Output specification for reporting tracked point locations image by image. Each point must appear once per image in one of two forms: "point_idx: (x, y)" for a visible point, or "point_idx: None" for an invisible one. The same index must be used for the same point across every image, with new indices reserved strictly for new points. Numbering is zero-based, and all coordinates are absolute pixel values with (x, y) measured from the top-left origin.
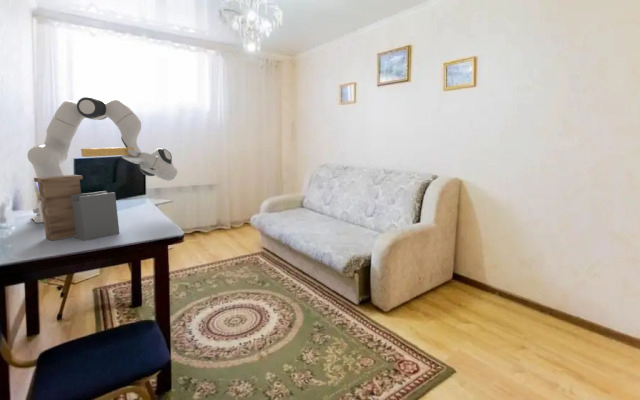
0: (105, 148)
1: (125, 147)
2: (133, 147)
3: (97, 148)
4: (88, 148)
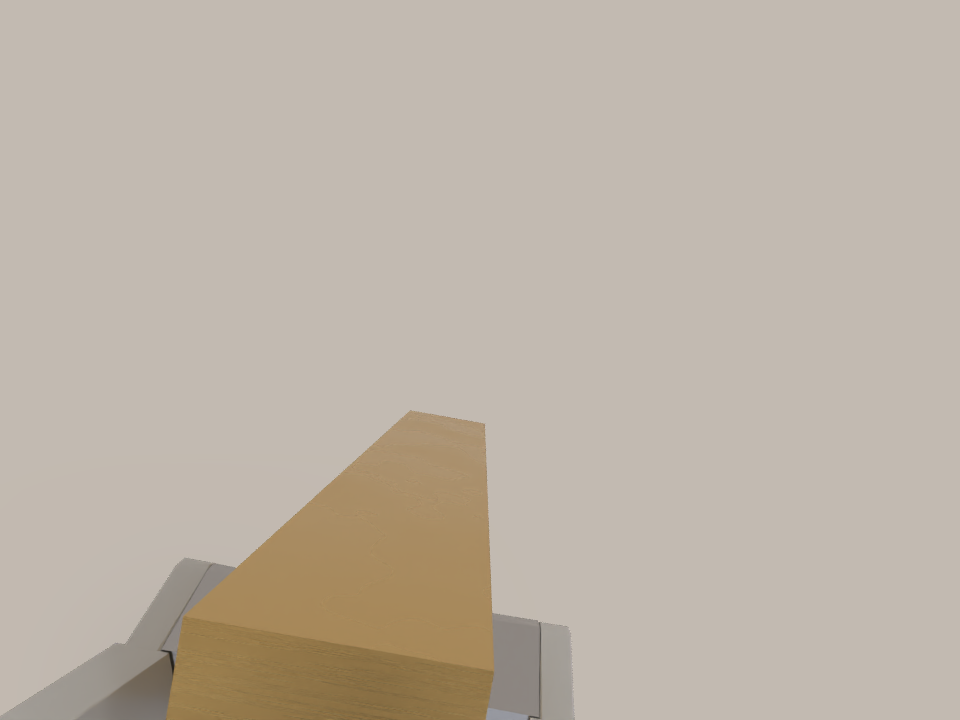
0: (377, 440)
1: (461, 583)
2: (190, 614)
3: (397, 425)
4: (484, 432)
